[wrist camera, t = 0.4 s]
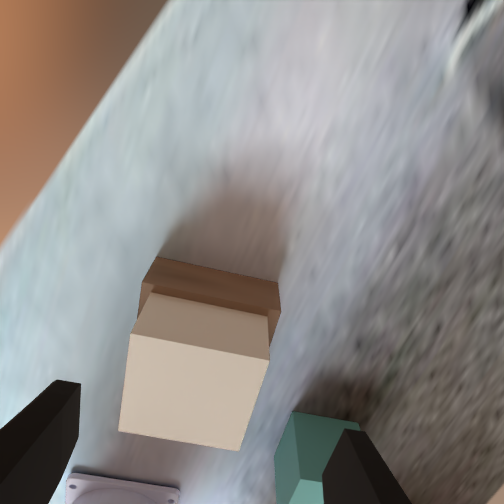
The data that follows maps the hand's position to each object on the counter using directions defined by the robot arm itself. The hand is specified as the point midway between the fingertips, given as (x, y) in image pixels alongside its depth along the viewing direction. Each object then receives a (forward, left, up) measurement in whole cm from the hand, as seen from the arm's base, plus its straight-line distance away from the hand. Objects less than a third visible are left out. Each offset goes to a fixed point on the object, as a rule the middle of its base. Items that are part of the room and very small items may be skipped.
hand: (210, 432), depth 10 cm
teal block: (-12, -8, -10) cm, 18 cm away
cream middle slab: (-4, +1, -7) cm, 8 cm away
